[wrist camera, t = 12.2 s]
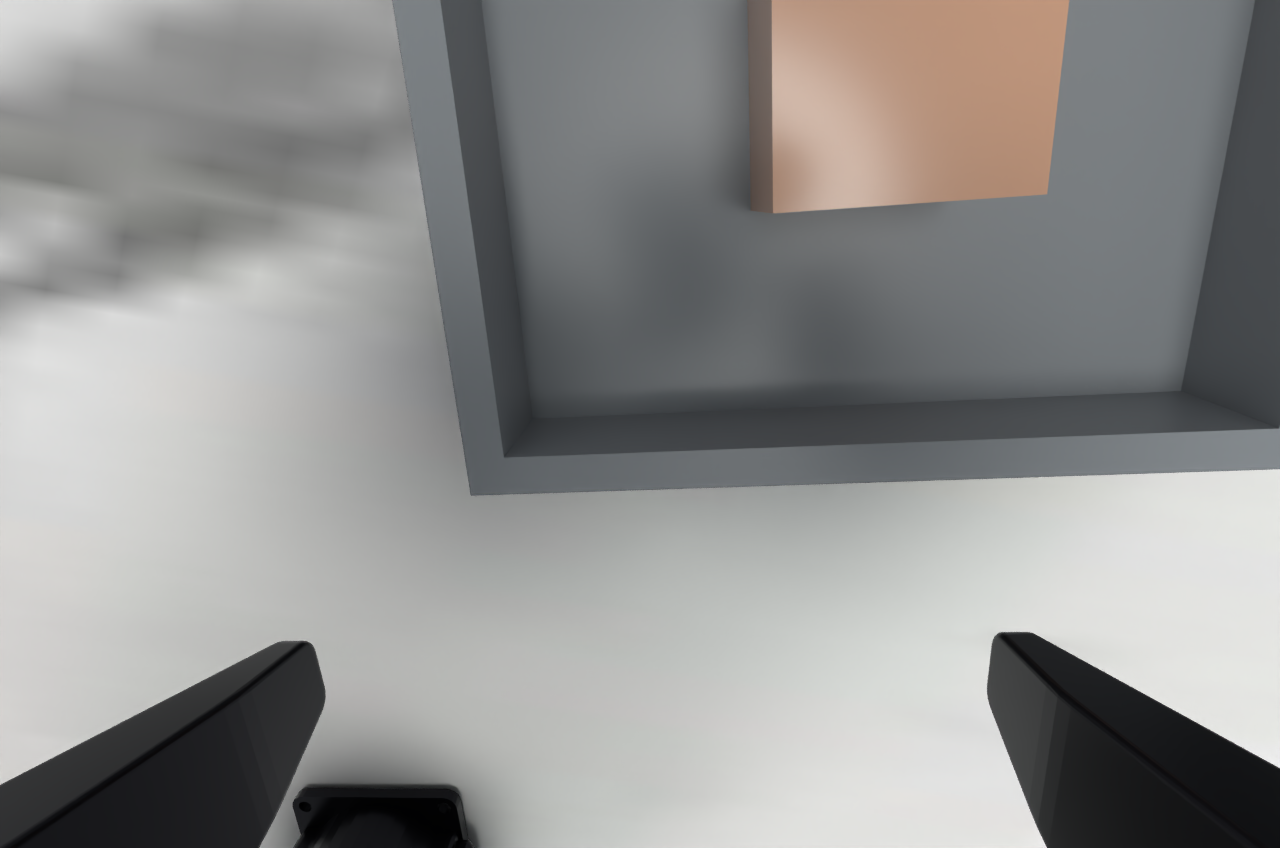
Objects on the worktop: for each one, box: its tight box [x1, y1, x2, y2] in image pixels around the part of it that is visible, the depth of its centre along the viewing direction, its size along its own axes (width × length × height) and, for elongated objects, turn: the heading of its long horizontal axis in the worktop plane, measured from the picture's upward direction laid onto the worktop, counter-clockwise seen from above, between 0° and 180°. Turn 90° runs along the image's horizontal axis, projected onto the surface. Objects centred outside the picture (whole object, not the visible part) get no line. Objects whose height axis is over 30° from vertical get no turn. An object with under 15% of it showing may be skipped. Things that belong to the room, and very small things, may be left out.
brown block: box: [747, 0, 1069, 213], centre depth 14 cm, size 5×5×5 cm
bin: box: [392, 0, 1280, 496], centre depth 15 cm, size 20×18×4 cm
